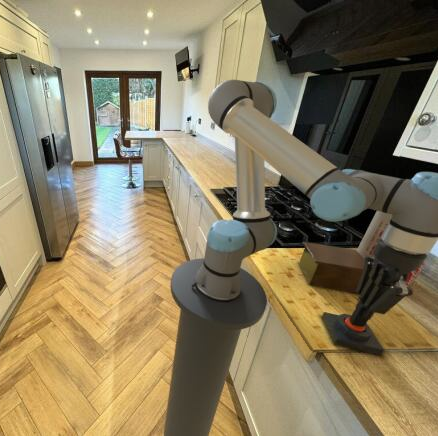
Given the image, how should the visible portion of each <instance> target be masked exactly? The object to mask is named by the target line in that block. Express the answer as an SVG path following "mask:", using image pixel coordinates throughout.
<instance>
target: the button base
mask: <svg viewBox="0 0 438 436" xmlns="http://www.w3.org/2000/svg"><path fill="white" fill-rule="evenodd" d="M351 315H352V314H349V313H342V314H336V313H331V312H327V311H326V312H325V311H323V313H322V315H321V321H322V322H323V325H324V326H325V328H326V331H327V333H328V335H329V337H330V339H331V341H332V343H333V345H334V346H338V347H342V348H346V349H351V350H355V351H359V352H362V353H368V354H371V355H376V356H378V357H379V356H380V357H381V356H382V354H383V353H384V352H385V348H384V347H383V345H382V344H381V342H380V341H379V339H378V337H377V336H376V335H375V333H374V332H373V330H372V328H371V327H370V326H369V324H368V322H367V323H366V325H365V330H364V332H357V331H355V330H353V329H351V328H350V327H348V326H347V325H346V324H345V322H344V321H345V320H346V318H350V317H351Z"/></svg>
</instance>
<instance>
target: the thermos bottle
mask: <svg viewBox="0 0 438 436" xmlns="http://www.w3.org/2000/svg"><path fill="white" fill-rule="evenodd" d="M392 216H393V215H392V214H389V213H384V212H380V211H377V210H376V212H375V214H374V216H373V218H372V219H371V221H370V224H369V225H368V227H367V230H366V231H365V234H363V235H364V236H363V237H362V239H361V241H360V243H359V246H358V247H357V249H356V251H357V252H358V253H359V254H360V255H361V256H362V257H363V258H364V259H365V257H373V258H375V256H374V255H373V251H374V249H375V247H376V245H377V244H378V242H379V240H382V239H381V236H382V234H383V232H384V230H385V229H386V227H387V225H388V223H389V222H390V220H391V219H392Z"/></svg>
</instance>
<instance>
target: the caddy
mask: <svg viewBox="0 0 438 436" xmlns="http://www.w3.org/2000/svg"><path fill="white" fill-rule="evenodd" d="M298 265H299V266H300V269H301V271H302V273H303V275H304V277H305V280H306V281H307V283H308V285H309V286H315V287H320V288H324V289H331V290H335V291H340V292H345V293H350V294H356V295H359V294H358V293H357V292H356V289H357V286H358V283H359V280H360V277H361V274H362V271H358V270H352V269H347V268H341V267H335V266H329V265H323V264H317V263H315V262H314V261H313V259H312V257H311V256H310V254H309V252H308V251H307V249H306V247H305V246H304V249H303V251H302V254H301V256H300V259H299V261H298ZM362 290H363V289H362Z"/></svg>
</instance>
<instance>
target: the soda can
mask: <svg viewBox="0 0 438 436" xmlns="http://www.w3.org/2000/svg"><path fill="white" fill-rule="evenodd" d="M425 261H426V259H425V260H424V262H423V263H422V265H421V266H420V268H419V269H417V270H414V271H412V272H410V273H409V276H408V280H407V281H406V282H405V284H406V287H407V289H410V287H411V286H412V285H413V284H414V283H415V281H416V280H417V278H418V277H419V275H420V274H421V272H422V271H423V269H424V268H425V266H426V262H425Z"/></svg>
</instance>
